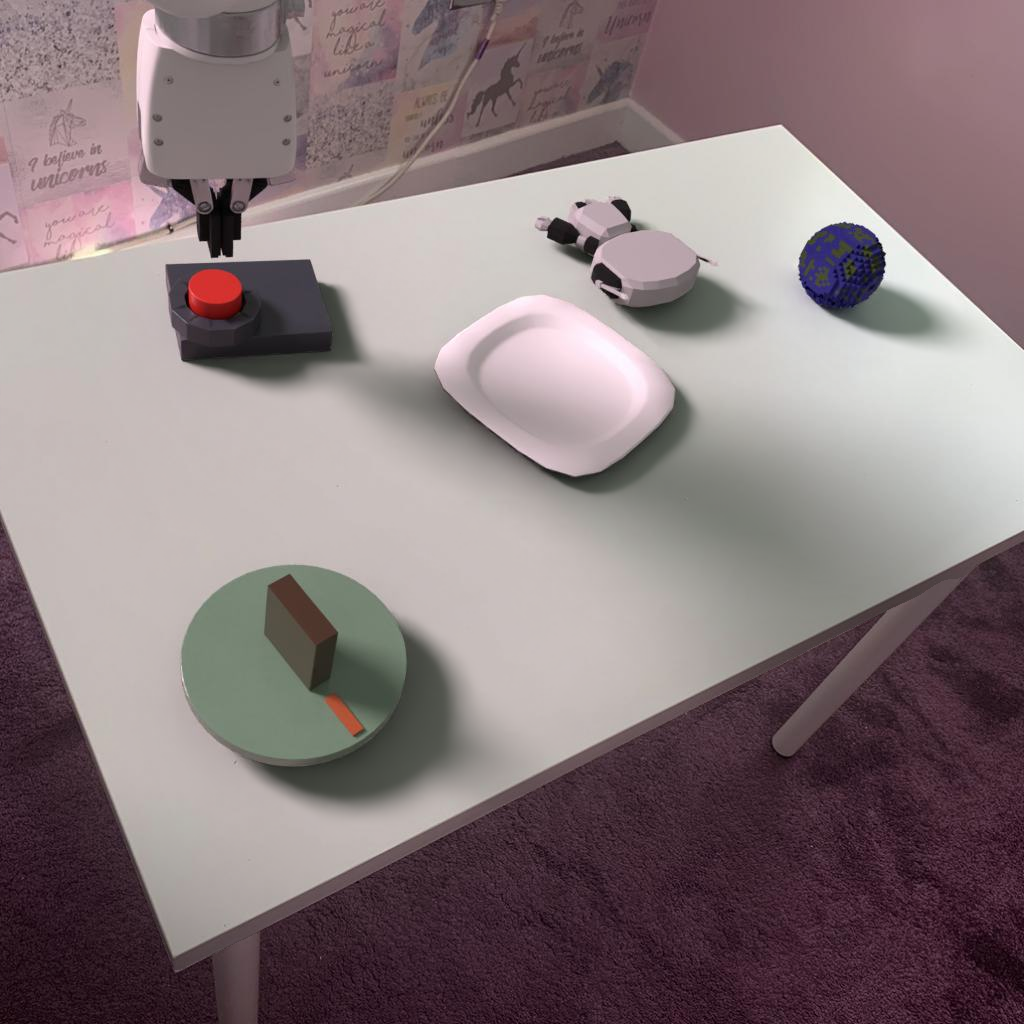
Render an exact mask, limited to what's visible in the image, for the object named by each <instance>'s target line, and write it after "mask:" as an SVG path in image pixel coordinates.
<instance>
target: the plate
mask: <svg viewBox="0 0 1024 1024" xmlns="http://www.w3.org/2000/svg"><path fill="white" fill-rule="evenodd" d="M437 355H438V356H437V359H436V361H435V364H434V367H433V371H434V373H435V375H436V377H437V379H438V381H439V384H440V386H441V387H442V389H443V391H444V392H445V394H447V395H448V396H449V397H451V399H452V400H453V401H454V402H455V403H456V404H457V405H458V406H460V407H461V409H462V410H464V412H466V413H467V414H468V415H470V416H471V417H472V418H474V419H475V421H477V422H478V423H480V424H481V425H482V426H484V427H485V428H486V429H487V430H489V431H490V432H491V433H492V434H494V435H495V436H496V437H498V438H499V439H500V440H501V441H503V442H504V443H506V444H507V445H508V446H510V447H511V448H512V449H513V450H515V451H516V452H518V453H520V454H521V455H522V456H524V457H526V458H527V459H528V460H530V461H532V462H533V463H535V464H536V465H538V466H540V467H541V468H543V469H544V470H547V471H549V472H554V473H557V474H560V475H564V476H566V477H570V478H580V477H585V476H591V475H597V474H600V473H603V471H605V470H607V469H609V468H610V467H611V466H612V467H613V465H615V464H616V463H619V461H621V460H622V459H624V458H625V457H626V456H627V455H629V454H630V453H631V452H632V451H633V450H634V449H635V448H637V447H638V446H639V445H641V443H642V442H643V441H645V440H646V439H647V438H648V437H649V436H650V435H651V434H652V433H653V432H655V430H657V429H658V428H659V427H660V425H662V423H663V421H664V420H665V419H666V418H667V417H668V415H669V414H670V413H671V412H672V411H673V409H674V404H675V396H676V388H675V387H674V385H673V384H672V382H671V380H670V378H669V377H668V374H666V372H665V371H664V369H663V368H661V367H660V366H659V365H658V364H657V363H656V362H655V361H654V360H652V358H650V357H649V356H648V355H646V354H645V353H644V351H642V350H641V349H640V348H638V347H637V346H636V345H634V344H633V343H631V342H630V341H628V339H626V338H624V337H623V336H622V335H621V334H619V333H618V332H616V331H615V330H614V329H612V328H611V327H609V326H608V325H606V324H605V323H604V322H602V321H601V320H600V319H598V318H597V317H595V316H594V315H592V314H590V313H589V312H587V311H585V310H583V309H581V308H580V307H578V306H576V305H575V304H573V303H571V302H569V301H566V300H564V299H560V298H556V297H553V296H551V295H547V294H535V295H527V296H526V295H525V296H519V297H517V298H516V299H513V300H510V301H509V302H506V303H505V304H502V305H500V306H498V307H496V308H495V309H494V310H492V311H490V312H489V313H487V314H486V315H484V316H482V317H481V318H479V319H478V320H476V321H475V322H473V323H472V324H470V325H468V326H467V327H466V328H464V329H463V330H461V331H460V332H459V333H457V334H456V335H454V337H452V338H451V339H450V340H449V341H448V342H447V343H446V344H445V345H443V347H442V348H440V350H439V353H438V354H437Z"/></svg>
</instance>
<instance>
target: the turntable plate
mask: <svg viewBox="0 0 1024 1024" xmlns="http://www.w3.org/2000/svg"><path fill="white" fill-rule="evenodd" d="M181 645H182V646H181V650H180V678H181V686H182V689H183V694H184V697H185V700H186V702H187V704H188V707H189V709H190V710H191V713H192V714H193V716H194V717H195V719H196V720H197V722H198V723H199V724H200V725H201V727H202V728H203V729H204V730H205V731H206V733H207V734H209V735H210V736H211V737H212V738H213V739H214V740H216V742H218V743H219V744H221V745H222V746H224V747H225V748H226V749H228V750H230V751H232V752H233V753H235V754H238V755H239V756H241V757H243V758H246V759H249V760H252V761H255V762H258V763H263V764H267V765H272V766H279V767H309V766H313V765H319V764H324V763H328V762H331V761H334V760H338V759H340V758H342V757H344V756H346V755H348V754H351V753H352V752H354V751H356V750H357V749H359V748H362V747H363V746H364V745H365V744H367V743H368V742H369V741H370V740H372V739H373V738H374V737H375V736H376V735H377V734H378V733H379V732H380V731H381V730H382V729H383V728H384V727H385V725H386V724H387V723H388V721H389V720H390V719H391V717H392V716H393V714H394V712H395V710H396V709H397V706H398V705H399V701H400V698H401V695H402V694H403V690H404V686H405V682H406V676H407V666H408V659H407V658H408V657H407V648H406V644H405V640H404V635H403V633H402V631H401V629H400V625H399V624H398V622H397V621H396V619H395V616H393V613H392V612H391V611H390V609H389V608H388V606H387V605H386V604H385V603H384V602H383V600H381V598H379V597H378V596H377V595H376V594H375V593H374V592H372V591H371V590H370V589H369V588H368V587H366V586H365V585H363V584H361V583H360V582H358V581H357V580H355V579H354V578H351V577H349V576H347V575H345V574H343V573H341V572H338V571H335V570H331V569H328V568H324V567H319V566H314V565H305V564H282V565H280V564H279V565H273V566H269V567H268V566H267V567H264V568H259V569H256V570H253V571H250V572H247V573H245V574H242V575H239V576H238V577H235V578H234V579H232V580H230V581H229V582H227V583H225V584H223V585H222V586H220V587H219V588H218V589H217V590H216V591H215V592H214V593H212V594H211V595H209V597H208V598H207V599H206V600H205V601H204V602H203V603H202V604H201V606H200V607H199V608H198V609H197V611H196V612H195V614H194V615H193V617H192V619H191V621H190V623H189V624H188V626H187V630H186V632H185V634H184V638H183V641H182V644H181Z"/></svg>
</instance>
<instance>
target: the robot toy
mask: <svg viewBox="0 0 1024 1024" xmlns="http://www.w3.org/2000/svg"><path fill="white" fill-rule="evenodd" d="M631 219H632V209H631V207H630V206H629V203H628V201H627V200H624V199H623V198H622V197H621V196H618V195H616V196H612V195H608V196H607V197H606V199H605V202H604V201H598V200H596V199H592V198H591V199H590V198H585V200H584V201H576V202H573V203H572V205H571V206H570V209H569V214H568V218H567V221H566V220H564V219H562V218H560V217H554V218H553V219H551V218H549V216H544V215H540V216H538V217H537V218H536V219H535V220H534V223H533V224H534V225H533V226H534V228H535V229H537V231H540V232H547V233H546V234H547V235H546V238H547V239H549V240H550V241H553V242H554V243H558V244H560V245H562V246H563V245H564V246H565V245H574V246H575V247H576V248H577V249H579V250H580V251H581V252H583V253H586V254H588V255H589V256H591V257H593V258H592V261H591V265H590V269H589V273H590V279H591V282H592V284H593V285H594V287H596V288H597V289H599V290H600V291H602V292H603V294H604V295H606V296H607V297H608V298H609V299H611V300H613V301H614V302H616V303H617V304H618V305H622V306H625V307H626V306H627V307H630V308H645V307H653V306H656V305H662V304H666V303H671V302H674V301H676V300H677V299H678V298H680V297H682V296H683V295H685V294H687V293H688V292H689V291H690V290H691V289H692V288H693V287H694V284H695V281H696V279H697V276H698V273H699V270H700V267H701V263H700V261H703V262H705V263H707V264H710V266H712V267H719V263H718V261H716V260H712V259H709V258H707V257H705V256H702V255H700V254H698V253H696V252H695V250H693V249H692V248H690V247H689V246H688V245H687V244H686V243H684V242H683V241H682V240H681V239H680V238H678V237H677V236H675V235H674V234H673V233H672V232H668V231H663V230H658V229H648V230H647V229H645V230H643V229H642V230H639V229H638V227H637V225H636V224H633V223H631Z"/></svg>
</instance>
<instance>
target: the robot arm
mask: <svg viewBox="0 0 1024 1024" xmlns="http://www.w3.org/2000/svg"><path fill="white" fill-rule="evenodd" d="M143 1H144V2H146V3H148V4H150V5H151V6H153V8H152V9H149V10H147V11H146V12H145V13H144V14H143V16H142V18H141V23H140V27H139V34H138V42H137V43H138V44H137V52H136V53H137V54H136V78H135V79H136V81H135V82H136V83H135V84H136V87H135V88H136V119H137V120H136V121H137V132H138V136H139V140H140V143H141V144H142V147H141V149H140V155H139V159H138V163H137V173H138V176H139V181H140V183H142V184H144V185H146V186H147V185H148V186H151V187H152V186H153V187H159V188H163V189H169V188H170V189H173V190H174V191H175V192H176V193H177V194H179V195H180V196H181V197H183V198H184V199H185V200H187V201H188V202H189V203H191V204H192V205H194V206H195V212H196V214H195V215H196V216H195V217H196V219H195V221H196V234H197V238H198V242H200V243H201V242H206V243H207V248H208V252H209V256H210V259H218V258H219V257H221V256H223V257H225V258H233V257H234V241H241V240H242V213H244V212H246V211H247V209H248V206H249V203H250V202H251V201H252V200H253V199H255V198H256V197H258V196H259V194H261V193H262V192H263V191H264V190H265V189H267V187H268V186H270V187H275V186H279V185H284V184H288V183H289V184H290V183H292V182H294V181H295V180H296V179H297V171H296V167H295V164H296V159H297V150H298V149H297V147H298V146H297V144H298V121H297V93H296V92H297V91H296V90H297V89H296V77H295V66H294V65H295V64H294V58H293V56H294V55H293V51H292V43H291V38H290V33H289V28H288V26H287V21H288V20H292V19H293V18H294V17H295V18H304V17H305V12H306V5H305V0H143ZM209 180H223V186H222V187H219V188H218V191H216V192H215V191H214V188H213V187H212V186H211V185H210V183H209Z"/></svg>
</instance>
